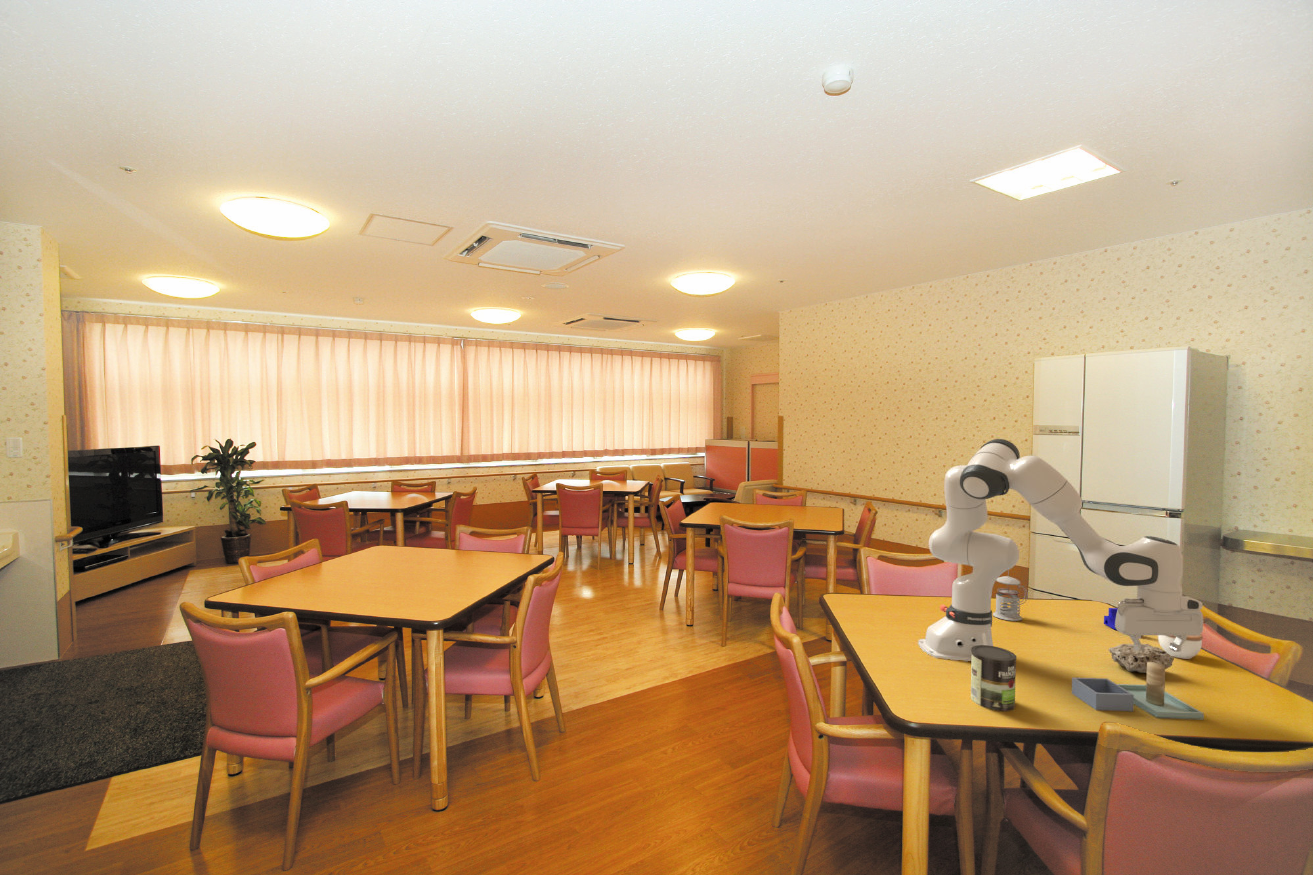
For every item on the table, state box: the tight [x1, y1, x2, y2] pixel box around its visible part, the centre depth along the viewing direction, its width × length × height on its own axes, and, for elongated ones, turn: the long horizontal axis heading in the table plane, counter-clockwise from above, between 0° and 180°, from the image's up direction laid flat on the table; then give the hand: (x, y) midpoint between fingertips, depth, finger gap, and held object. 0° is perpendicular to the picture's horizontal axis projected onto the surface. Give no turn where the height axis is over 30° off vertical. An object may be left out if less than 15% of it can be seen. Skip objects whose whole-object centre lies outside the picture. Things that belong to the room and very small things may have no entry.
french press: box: [992, 569, 1029, 622], centre depth 218 cm, size 10×12×25 cm
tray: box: [1116, 683, 1205, 721], centre depth 150 cm, size 11×15×2 cm
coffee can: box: [970, 645, 1017, 712], centre depth 150 cm, size 10×10×14 cm
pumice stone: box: [1108, 643, 1175, 674], centre depth 170 cm, size 14×12×8 cm
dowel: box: [1145, 662, 1166, 706], centre depth 150 cm, size 4×4×10 cm
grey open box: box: [1071, 677, 1135, 712], centre depth 151 cm, size 9×9×5 cm
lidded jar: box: [1157, 633, 1204, 660], centre depth 183 cm, size 11×11×9 cm
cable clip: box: [1103, 607, 1118, 631], centre depth 205 cm, size 12×4×6 cm, turn 172°
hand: (1157, 650), depth 151 cm, fingers open, 8 cm apart
